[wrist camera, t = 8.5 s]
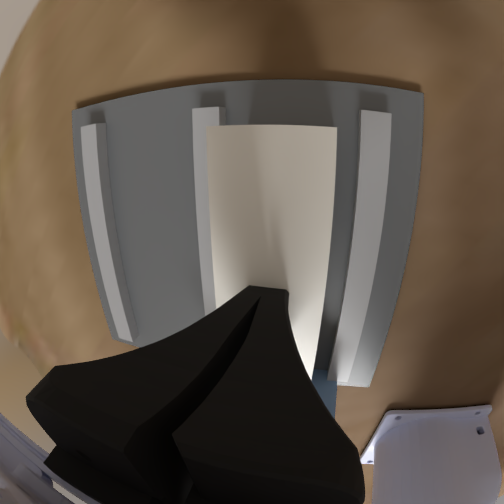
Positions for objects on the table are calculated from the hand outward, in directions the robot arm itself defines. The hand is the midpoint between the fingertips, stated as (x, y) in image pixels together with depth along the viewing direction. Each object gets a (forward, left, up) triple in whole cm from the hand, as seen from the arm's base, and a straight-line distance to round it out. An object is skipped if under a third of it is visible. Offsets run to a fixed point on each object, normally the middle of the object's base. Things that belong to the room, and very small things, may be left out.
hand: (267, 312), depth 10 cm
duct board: (+3, 0, -5) cm, 6 cm away
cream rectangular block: (0, 0, -4) cm, 4 cm away
